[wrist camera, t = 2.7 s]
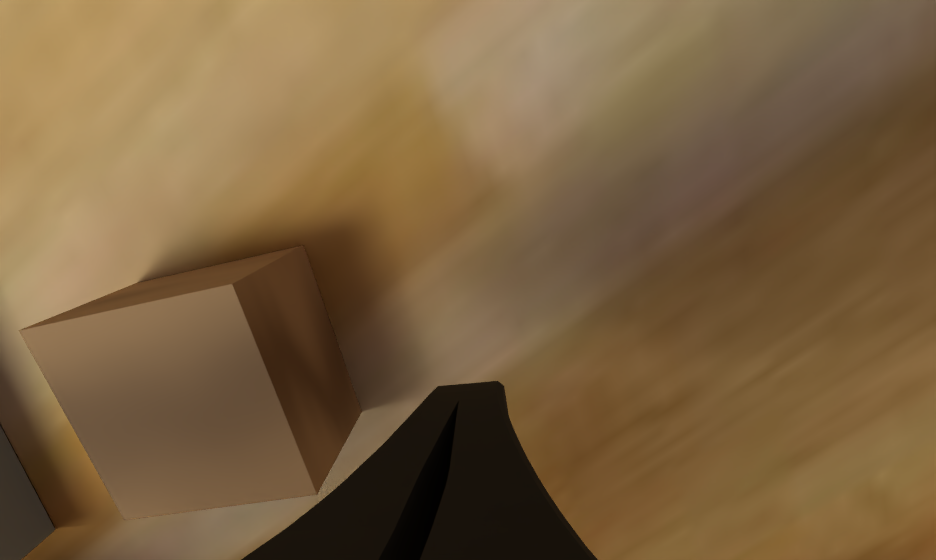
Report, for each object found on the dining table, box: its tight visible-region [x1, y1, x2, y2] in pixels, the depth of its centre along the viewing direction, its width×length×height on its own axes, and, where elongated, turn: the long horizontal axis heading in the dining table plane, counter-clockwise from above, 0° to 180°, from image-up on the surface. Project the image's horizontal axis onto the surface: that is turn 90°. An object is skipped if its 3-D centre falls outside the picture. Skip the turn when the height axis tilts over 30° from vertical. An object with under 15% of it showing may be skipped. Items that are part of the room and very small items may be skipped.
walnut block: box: [19, 245, 362, 520], centre depth 14 cm, size 6×6×4 cm
